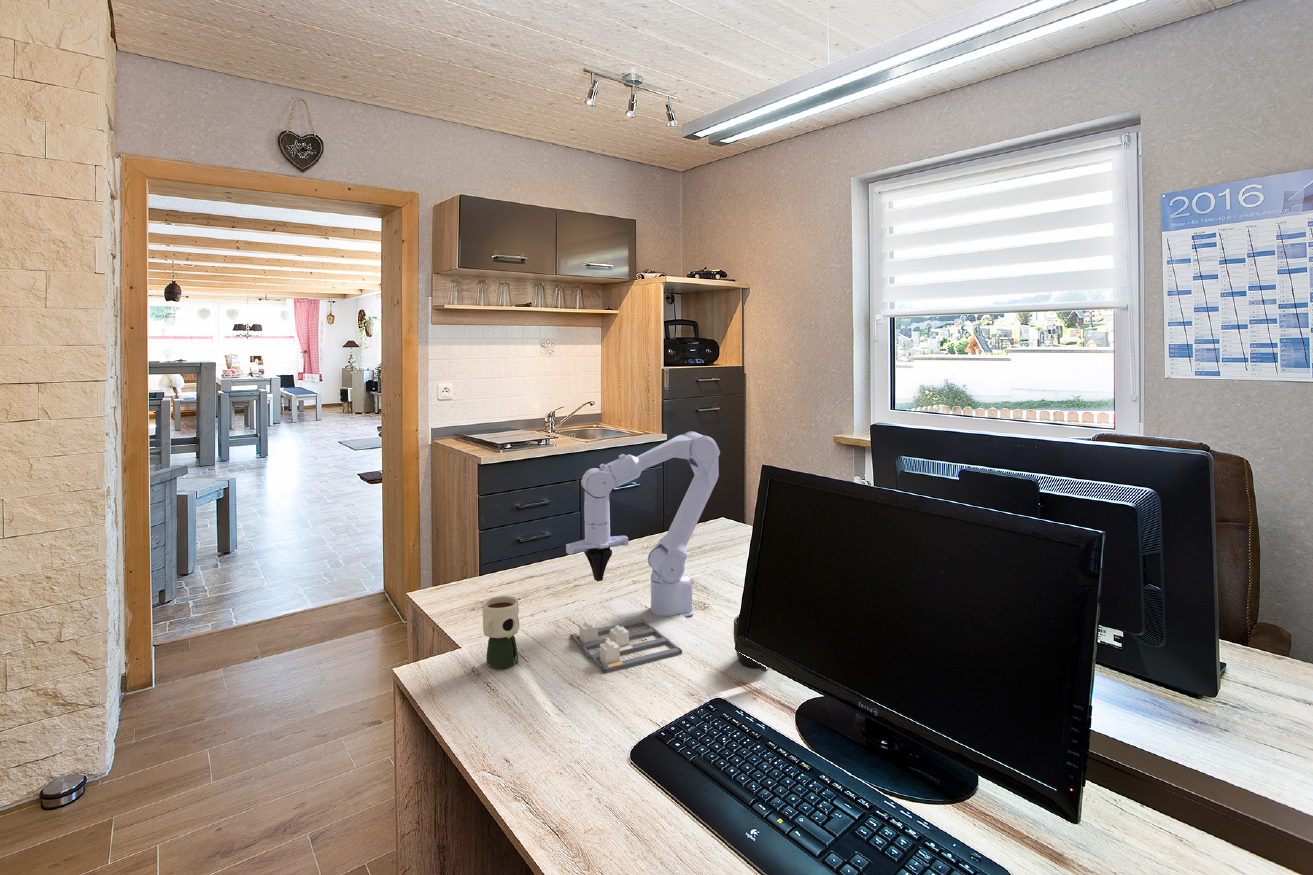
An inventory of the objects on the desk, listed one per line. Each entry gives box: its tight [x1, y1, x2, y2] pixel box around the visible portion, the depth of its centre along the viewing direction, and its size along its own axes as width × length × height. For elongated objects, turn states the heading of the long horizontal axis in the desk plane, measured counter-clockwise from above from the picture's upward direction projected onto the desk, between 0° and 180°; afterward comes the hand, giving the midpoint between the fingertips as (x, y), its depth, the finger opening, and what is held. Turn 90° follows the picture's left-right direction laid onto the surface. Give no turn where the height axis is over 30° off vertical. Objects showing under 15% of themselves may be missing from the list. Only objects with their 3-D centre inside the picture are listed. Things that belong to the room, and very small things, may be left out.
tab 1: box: [578, 620, 599, 644], centre depth 143 cm, size 3×3×4 cm
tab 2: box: [599, 640, 621, 665], centre depth 134 cm, size 3×3×4 cm
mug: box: [733, 615, 768, 672], centre depth 135 cm, size 8×12×10 cm
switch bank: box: [569, 618, 683, 674], centre depth 141 cm, size 17×18×2 cm
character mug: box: [481, 595, 521, 669], centre depth 135 cm, size 11×7×13 cm, turn 158°
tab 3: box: [609, 624, 630, 648], centre depth 141 cm, size 3×3×4 cm
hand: (598, 579), depth 154 cm, fingers closed
